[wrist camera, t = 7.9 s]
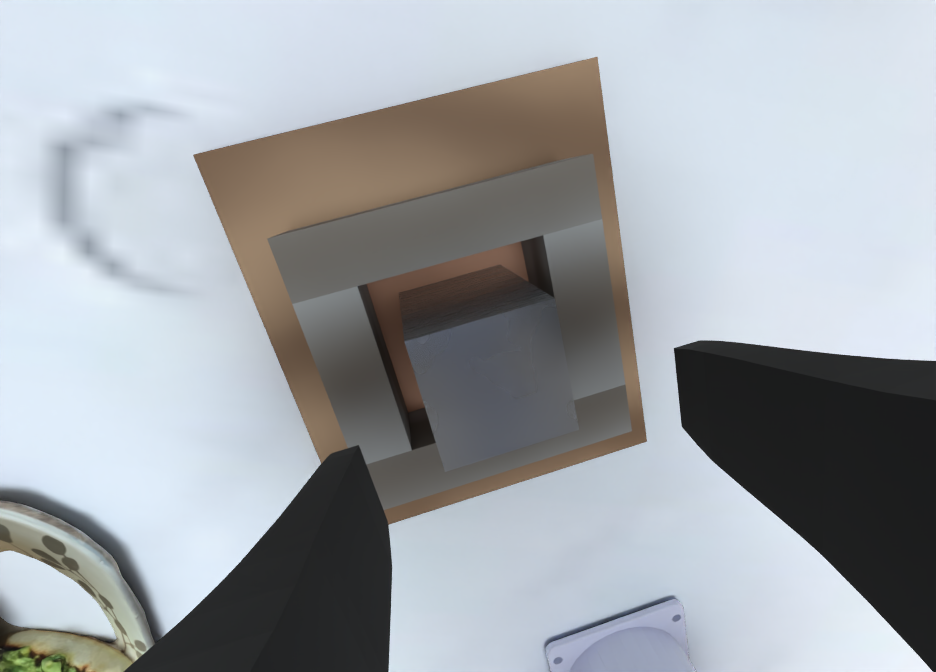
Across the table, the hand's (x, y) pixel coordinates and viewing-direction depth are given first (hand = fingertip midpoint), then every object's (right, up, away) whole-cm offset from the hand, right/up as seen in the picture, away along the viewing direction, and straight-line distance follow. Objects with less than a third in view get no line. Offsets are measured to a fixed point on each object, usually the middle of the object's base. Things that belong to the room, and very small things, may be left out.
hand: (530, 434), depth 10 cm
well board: (-2, +3, +9) cm, 9 cm away
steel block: (-2, +3, +8) cm, 9 cm away
